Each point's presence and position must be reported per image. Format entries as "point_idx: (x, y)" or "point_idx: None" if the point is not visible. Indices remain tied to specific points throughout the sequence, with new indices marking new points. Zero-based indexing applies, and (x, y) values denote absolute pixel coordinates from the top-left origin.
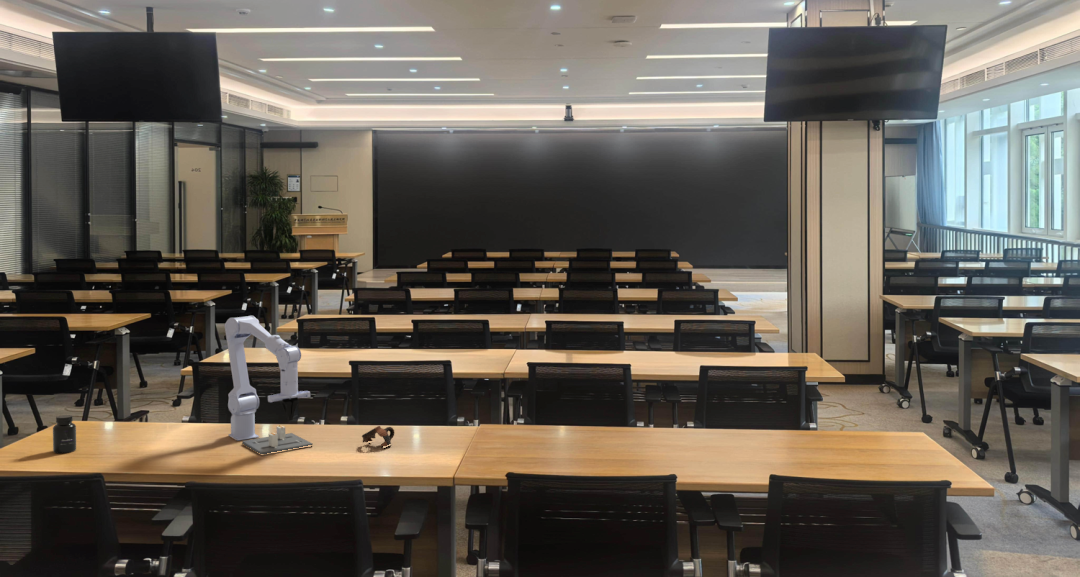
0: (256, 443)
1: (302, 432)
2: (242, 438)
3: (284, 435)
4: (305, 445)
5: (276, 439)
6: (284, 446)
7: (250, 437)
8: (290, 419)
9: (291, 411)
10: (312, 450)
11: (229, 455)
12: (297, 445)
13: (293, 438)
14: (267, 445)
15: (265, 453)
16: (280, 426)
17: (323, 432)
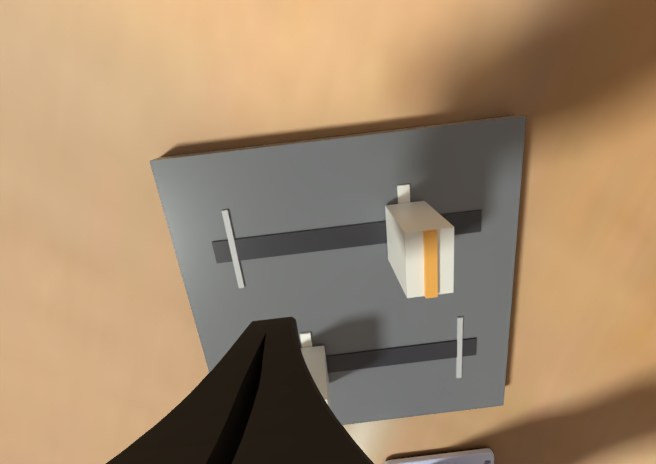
0: (464, 330)
1: None
2: (466, 460)
3: None
4: (205, 153)
5: (405, 218)
6: (346, 184)
7: (428, 460)
8: (275, 321)
9: (246, 395)
10: (175, 64)
11: (644, 228)
12: (260, 163)
13: None
14: None
15: (493, 118)
16: None
17: (52, 421)
